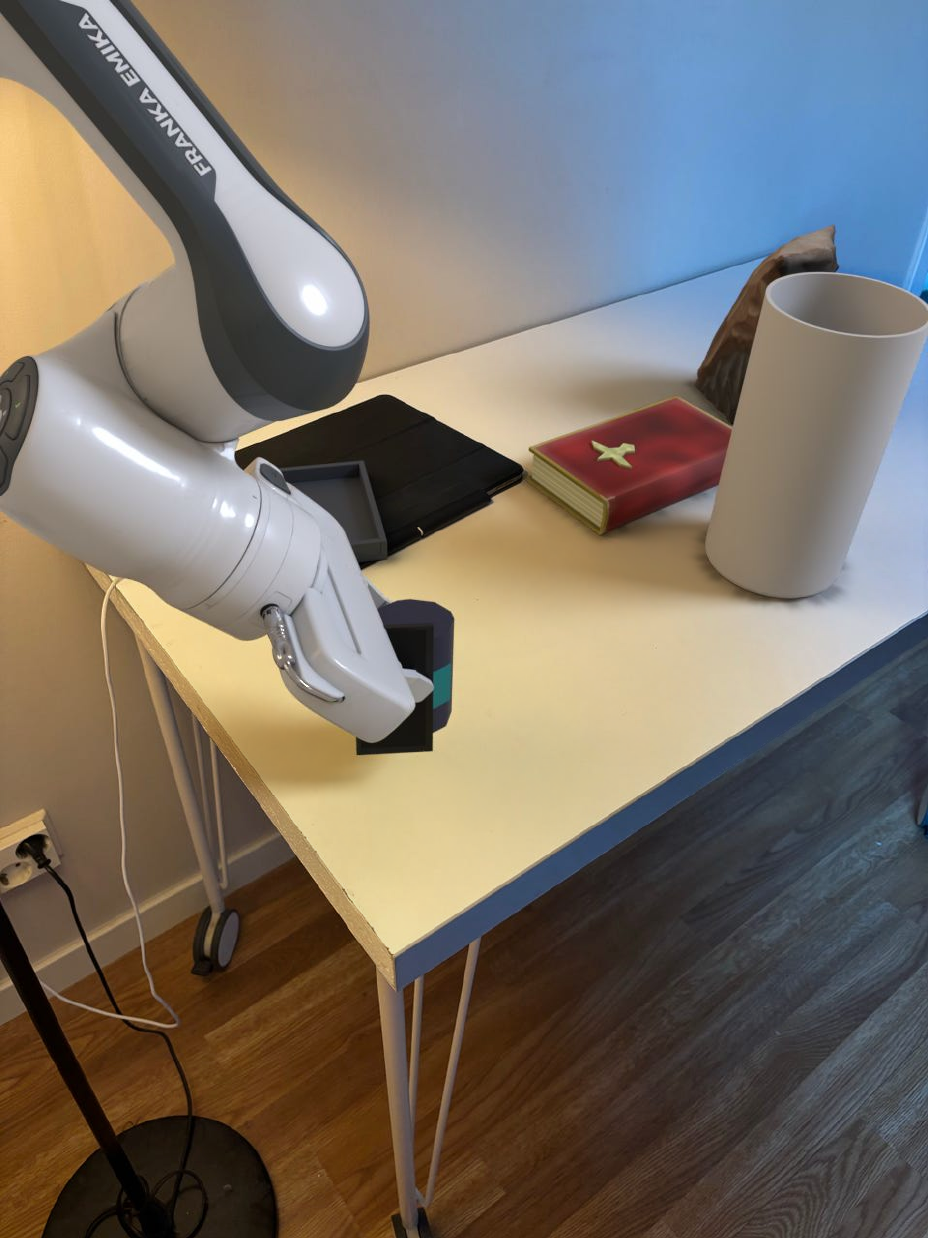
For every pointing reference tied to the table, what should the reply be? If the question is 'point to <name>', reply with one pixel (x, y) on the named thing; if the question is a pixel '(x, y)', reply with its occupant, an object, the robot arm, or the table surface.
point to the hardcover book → (632, 463)
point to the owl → (757, 316)
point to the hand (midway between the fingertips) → (409, 653)
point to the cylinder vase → (812, 428)
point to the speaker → (429, 646)
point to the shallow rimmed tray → (345, 503)
